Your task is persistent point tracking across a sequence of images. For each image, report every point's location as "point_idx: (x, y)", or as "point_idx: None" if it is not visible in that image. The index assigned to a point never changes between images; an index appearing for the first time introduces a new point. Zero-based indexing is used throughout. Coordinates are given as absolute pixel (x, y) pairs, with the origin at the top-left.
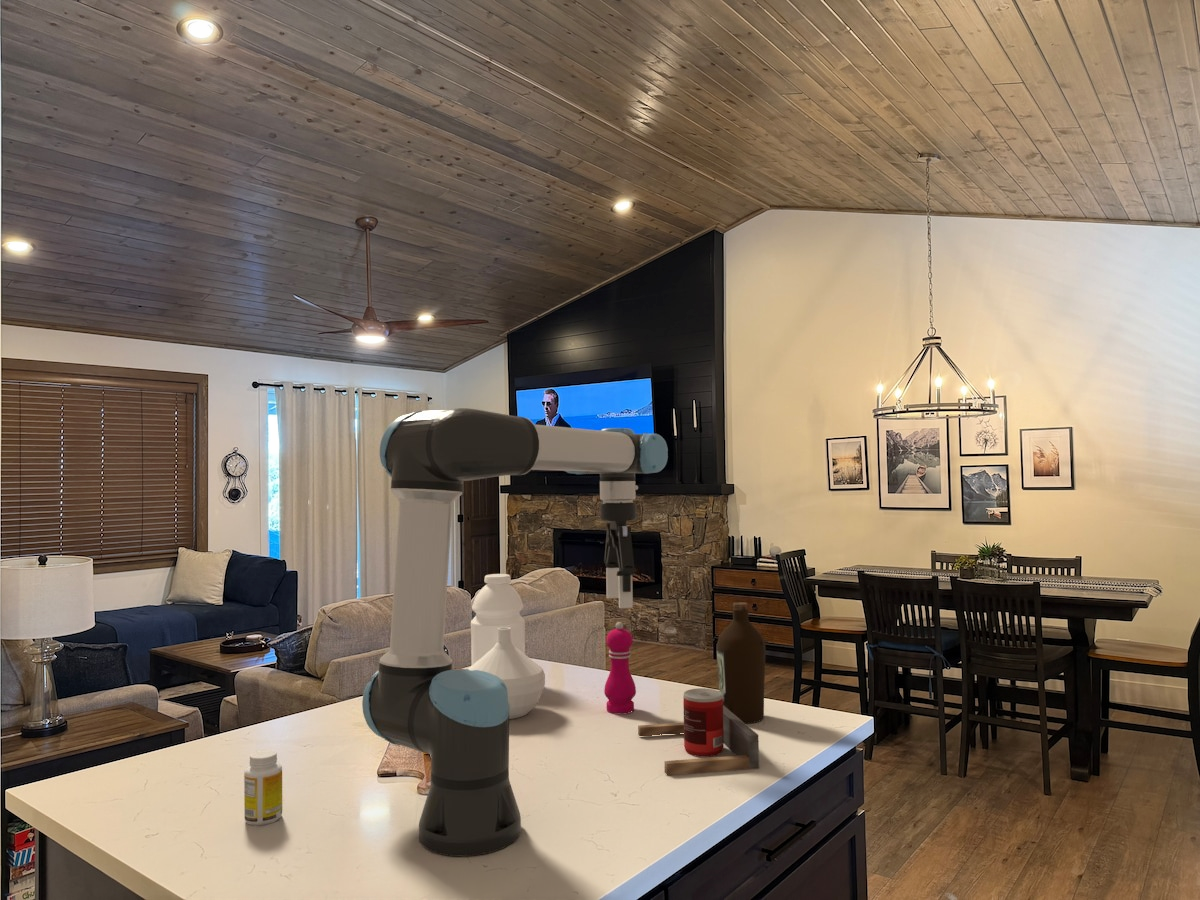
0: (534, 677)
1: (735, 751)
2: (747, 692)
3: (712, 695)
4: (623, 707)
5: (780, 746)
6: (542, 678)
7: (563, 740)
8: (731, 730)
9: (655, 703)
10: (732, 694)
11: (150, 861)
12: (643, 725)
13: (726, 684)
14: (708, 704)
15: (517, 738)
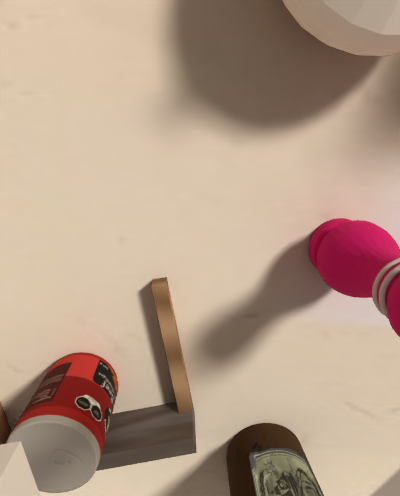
0: (326, 13)
1: None
2: None
3: (53, 471)
4: (313, 256)
5: (108, 486)
6: (355, 43)
7: (136, 126)
8: None
9: (375, 317)
10: (239, 480)
11: None
12: (165, 293)
13: (251, 487)
14: None
15: (150, 15)
